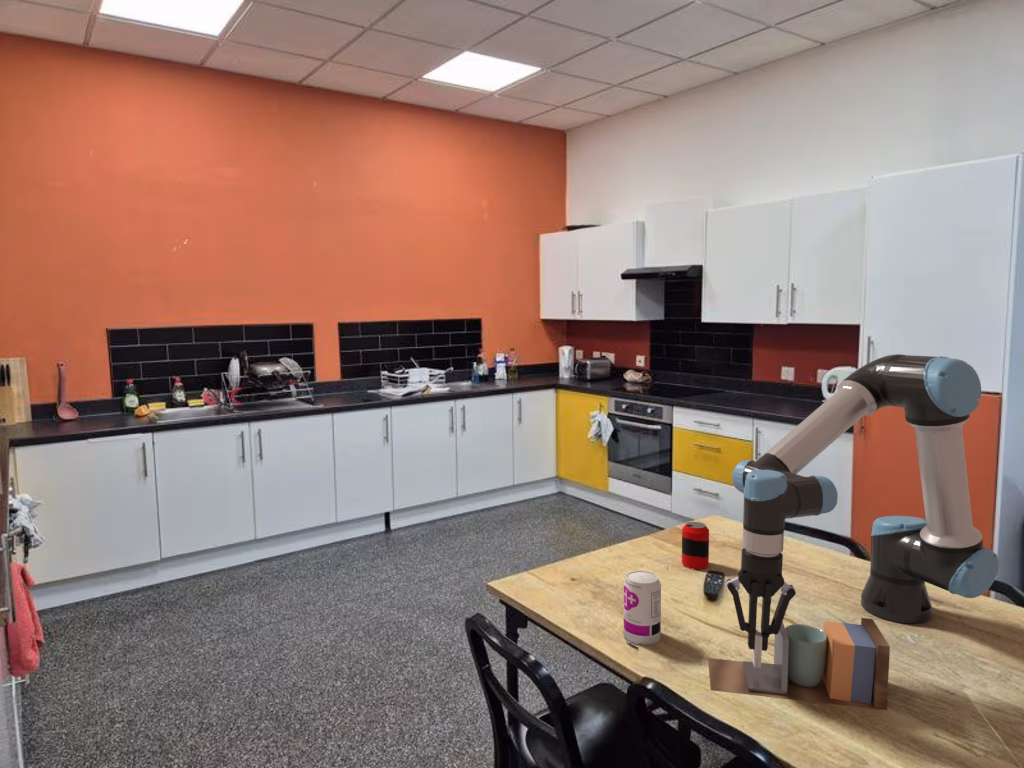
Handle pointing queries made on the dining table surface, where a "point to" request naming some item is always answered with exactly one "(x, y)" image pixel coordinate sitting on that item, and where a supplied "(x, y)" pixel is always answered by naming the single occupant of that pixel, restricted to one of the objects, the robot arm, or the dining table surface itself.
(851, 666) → the book terracotta
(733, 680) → the shelf
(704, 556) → the soda can
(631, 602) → the supplement can
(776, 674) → the bookend
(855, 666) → the book navy
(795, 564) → the dining table surface
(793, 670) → the cup
